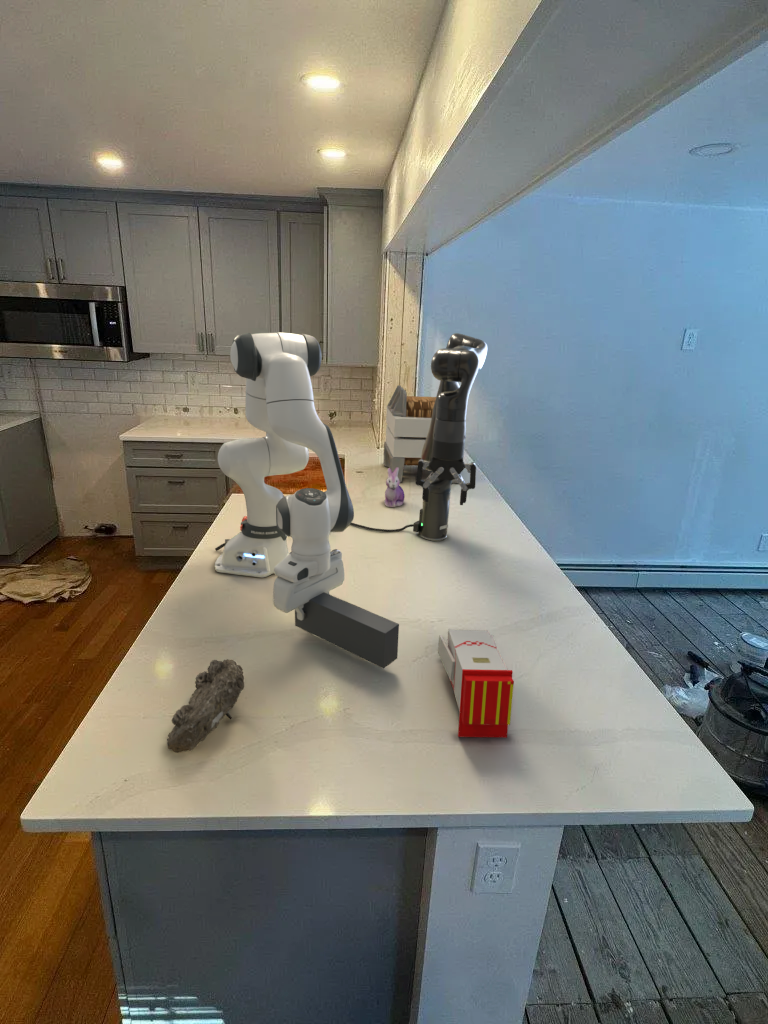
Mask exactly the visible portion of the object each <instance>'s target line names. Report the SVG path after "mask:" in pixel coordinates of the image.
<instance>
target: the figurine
mask: <svg viewBox="0 0 768 1024" xmlns="http://www.w3.org/2000/svg"><path fill="white" fill-rule="evenodd" d="M398 471H399V468H398V467H397V468H396V469H395V470H394V472H392V471H391V469H390V467H388V468H387V478H386V479H385V484H386V485H385V486H386V489H385V492H384V498H385V499H384V501H383V503H384V505H385V507H389V508H395V507H400V506H403V505H404V502H405V490H404V489H403V487H402V486H401V485H400V484H401V482H400V481H399V479H398V476H397V475H398Z"/></svg>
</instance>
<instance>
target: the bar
mask: <svg viewBox="0 0 768 1024" xmlns="http://www.w3.org/2000/svg"><path fill="white" fill-rule="evenodd" d="M302 610H303V611H305V612H307V615H306V616H307V618H305V619H304V620H302V621H301V620H299V619H298V618H297V612H296V611H295V610H294V626H295V627H297V628H299V629H301V630H303V631H305V632H307V633H310V634H311V635H313V636H315V637H318V638H320V639H322V640H324V641H326V642H327V643H330V644H331V645H334V646H336V647H338V648H340V649H342V650H344V651H346V652H347V653H348V652H349V653H350V654H353V655H354V656H356V657H358V658H361V659H362V660H365V661H367V662H369V663H371V664H373V665H375V666H377V667H379V668H381V669H382V670H383V669H385V668H386V667H388V666H389V665H391V664H392V663H393V662H394V661H396V660H398V651H399V636H400V635H399V634H400V624H399V623H398V622H396V621H393V620H391V619H388V618H386V617H384V616H381V615H379V614H376V613H375V612H372V611H369V610H368V609H364V608H363V607H361V606H358V605H356V604H353V603H350V602H348V601H345V600H343V599H342V598H339V597H336V596H334V595H332V594H330V593H329V594H327V593H325V592H324V593H322V594H320V595H318V596H316V597H314V598H312V599H310V600H309V602H307V603H305V604H304V607H303V608H302Z"/></svg>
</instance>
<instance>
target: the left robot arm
mask: <svg viewBox="0 0 768 1024" xmlns="http://www.w3.org/2000/svg"><path fill="white" fill-rule="evenodd" d="M231 343H232V344H231V346H230V350H229V351H230V353H229V357H230V362H231V364H232V368H233V370H234V373H236V374H237V375H238V376H239V377H241V378H243V379H245V405H244V406H245V407H244V413H245V414H244V415H245V418H246V420H247V422H248V423H249V424H250V425H251V426H252V427H253V428H256V429H258V430H260V431H263V432H265V436H262V437H253V438H252V437H251V438H250V437H249V438H238V439H234V440H230V441H227V442H223V444H222V445H221V446H220V448H219V450H218V453H217V465H218V467H219V470H220V471H221V472H222V473H223V474H224V475H225V477H228V478H230V479H231V480H232V481H234V482H235V483H236V484H237V486H238V487H239V488H240V489H241V491H242V493H243V497H244V500H245V508H246V515H244V516H243V517H242V519H241V522H240V526H239V532H238V533H237V534H234V536H233V537H231V538H226V539H224V543H221V544H220V545H218V546H217V547H215V548H214V550H215V551H216V552H218V551H220V550H221V549H223V550H222V553H221V554H220V555H219V556H218V557H217V558H216V560H215V562H214V570H215V571H216V572H217V573H222V574H231V575H237V576H238V575H239V576H246V577H252V578H253V577H254V578H262V579H263V578H266V577H268V576H269V577H270V575H275V576H277V577H276V578H275V579H274V582H273V592H272V593H273V595H272V597H273V599H272V600H273V605H274V607H275V608H276V610H279V611H280V612H283V613H286V614H288V613H290V612H291V611H293V610H294V612H295V611H296V612H297V618H298V619H299V620H301V621H302V620H304V619H305V618H307V616H306V615H307V612H305V611H303V610H302V608H303V607H304V604H305V603H307V602H309V600H310V599H312V598H314V597H316V596H318V595H320V594H322V593H324V592H325V593H327V594H329V595H330V591H332V590H334V589H336V588H338V587H340V586H342V585H343V584H344V582H345V567H344V566H345V565H344V561H343V553H342V551H341V550H339V549H337V548H335V549H331V543H330V535H331V533H343V532H344V531H345V530H346V529H347V528H349V527H350V524H351V523H353V521H354V518H355V510H354V509H355V508H354V506H353V505H354V504H353V502H352V499H351V496H350V492H349V490H348V488H347V484H346V480H345V476H344V472H343V469H342V464H341V460H340V455H339V453H338V448H337V445H336V441H335V438H334V435H333V433H332V430H331V428H330V427H329V425H328V424H326V423H324V422H323V421H322V420H321V418H320V416H319V415H318V413H317V410H316V406H315V397H314V390H313V384H312V380H311V379H312V378H311V377H313V376H315V375H316V374H317V373H318V372H319V370H320V368H321V364H322V356H323V355H322V350H321V345H320V343H319V341H318V339H317V338H316V337H315V336H312V335H309V334H305V333H301V334H298V333H291V332H282V331H281V332H280V331H276V332H259V333H251V332H246V333H241V334H237V335H236V336H235V337H234V339H232V342H231ZM310 451H311V452H313V453H315V455H316V456H317V458H318V460H319V462H320V466H321V470H322V474H323V478H324V482H325V486H326V490H324V491H323V490H321V489H318V488H313V487H305V488H301V489H298V490H296V491H295V492H294V493H293V494H292V493H291V494H288V495H284V493H283V492H282V491H281V490H280V489H279V488H277V487H275V486H272V485H270V484H267V483H265V482H266V481H265V478H266V477H271V476H281V475H283V476H284V475H290V474H294V473H298V472H300V471H303V470H304V469H305V468H306V467H307V465H308V463H309V460H310ZM288 537H290V538H292V542H291V548H290V550H291V551H290V552H289V547H288V539H287V538H288Z"/></svg>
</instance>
